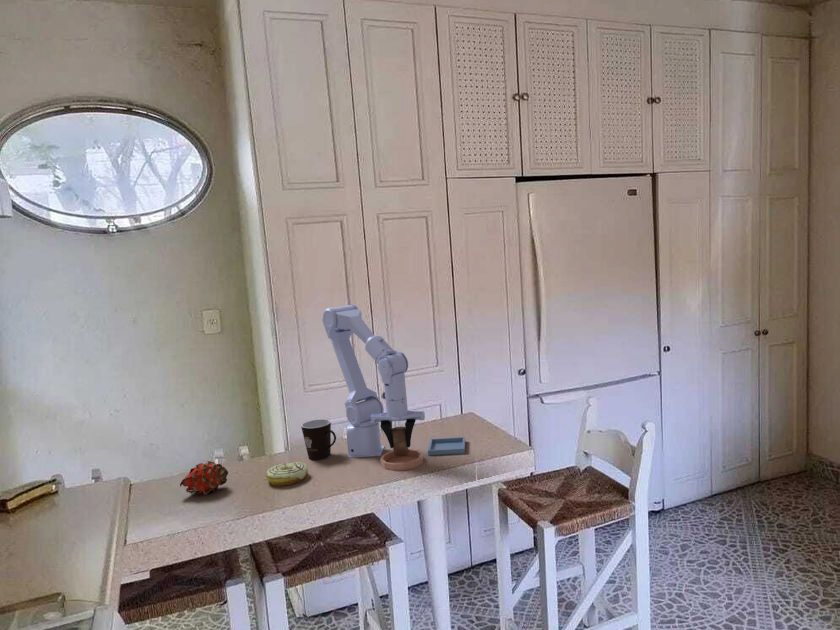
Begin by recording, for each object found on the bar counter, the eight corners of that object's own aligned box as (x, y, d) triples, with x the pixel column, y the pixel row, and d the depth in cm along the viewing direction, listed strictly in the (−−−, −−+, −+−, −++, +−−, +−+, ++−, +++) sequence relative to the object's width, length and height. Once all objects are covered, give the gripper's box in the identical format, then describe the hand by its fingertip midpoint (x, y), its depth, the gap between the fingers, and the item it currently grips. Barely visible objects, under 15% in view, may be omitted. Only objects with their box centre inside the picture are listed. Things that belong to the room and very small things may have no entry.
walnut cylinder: (393, 456, 156) (390, 431, 155) (394, 451, 160) (392, 427, 159) (407, 456, 155) (405, 430, 154) (409, 450, 159) (407, 426, 158)
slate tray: (428, 457, 161) (427, 450, 161) (431, 444, 171) (430, 438, 171) (464, 455, 160) (464, 448, 160) (465, 442, 170) (464, 436, 170)
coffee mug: (301, 455, 172) (298, 423, 171) (329, 449, 175) (326, 417, 174) (311, 467, 161) (307, 432, 160) (341, 460, 165) (337, 426, 164)
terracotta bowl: (378, 472, 153) (377, 465, 152) (384, 457, 164) (384, 450, 164) (421, 470, 151) (420, 463, 151) (424, 454, 163) (424, 448, 163)
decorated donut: (311, 482, 151) (309, 468, 150) (269, 491, 147) (267, 477, 147) (305, 469, 160) (304, 456, 160) (266, 477, 157) (264, 464, 156)
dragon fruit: (234, 493, 152) (187, 509, 148) (228, 467, 157) (183, 482, 154) (227, 475, 146) (178, 492, 142) (222, 449, 151) (174, 464, 148)
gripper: (367, 403, 152) (371, 453, 154) (421, 400, 151) (425, 450, 153) (371, 396, 159) (376, 444, 161) (423, 393, 158) (427, 441, 160)
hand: (400, 446), depth 157 cm, fingers closed on walnut cylinder, 4 cm apart
